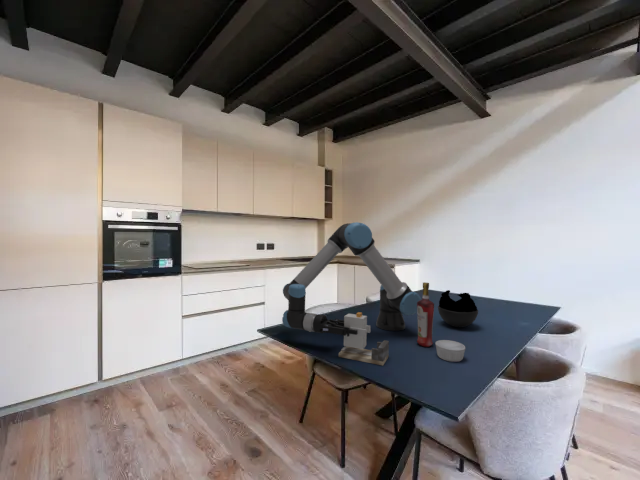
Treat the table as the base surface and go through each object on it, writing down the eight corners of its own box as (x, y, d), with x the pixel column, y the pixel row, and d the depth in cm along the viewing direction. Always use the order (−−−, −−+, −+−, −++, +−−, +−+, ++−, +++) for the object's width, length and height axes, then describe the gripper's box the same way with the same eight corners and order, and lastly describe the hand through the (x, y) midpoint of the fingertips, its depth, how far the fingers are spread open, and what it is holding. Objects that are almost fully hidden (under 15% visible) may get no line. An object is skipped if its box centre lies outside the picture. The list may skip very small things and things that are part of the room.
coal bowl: (485, 332, 155) (486, 296, 154) (446, 331, 155) (446, 295, 155) (467, 321, 175) (467, 289, 174) (432, 320, 175) (432, 288, 175)
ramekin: (463, 365, 114) (463, 351, 114) (432, 359, 120) (432, 345, 120) (466, 356, 124) (467, 343, 124) (438, 350, 130) (438, 338, 130)
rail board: (338, 356, 121) (338, 340, 121) (346, 349, 129) (346, 334, 129) (383, 365, 113) (383, 348, 113) (388, 357, 121) (388, 341, 121)
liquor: (412, 343, 137) (413, 282, 137) (425, 341, 140) (426, 281, 140) (424, 348, 131) (425, 284, 130) (437, 346, 134) (438, 283, 133)
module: (343, 345, 122) (344, 312, 122) (347, 341, 127) (348, 310, 126) (362, 349, 119) (363, 315, 118) (366, 345, 123) (367, 312, 123)
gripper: (324, 326, 138) (374, 334, 128) (305, 337, 122) (360, 348, 112) (324, 309, 138) (374, 316, 128) (306, 319, 122) (361, 327, 112)
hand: (368, 331), depth 120 cm, fingers closed on module, 5 cm apart
